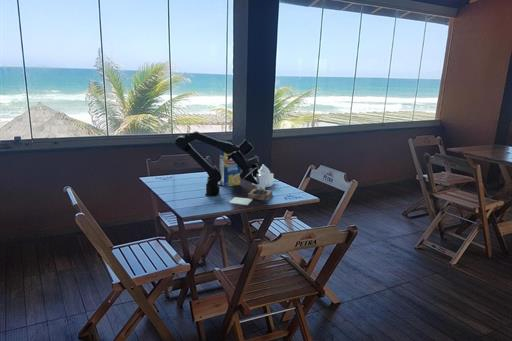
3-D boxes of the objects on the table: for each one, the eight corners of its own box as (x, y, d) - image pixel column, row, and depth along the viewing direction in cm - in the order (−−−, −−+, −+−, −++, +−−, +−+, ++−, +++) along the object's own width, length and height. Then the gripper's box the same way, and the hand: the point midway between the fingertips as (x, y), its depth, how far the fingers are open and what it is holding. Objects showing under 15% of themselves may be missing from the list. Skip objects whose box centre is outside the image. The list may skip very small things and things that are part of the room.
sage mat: (228, 203, 193) (228, 202, 193) (234, 197, 202) (234, 197, 202) (247, 205, 191) (247, 204, 191) (252, 199, 200) (252, 199, 200)
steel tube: (254, 197, 204) (255, 175, 201) (257, 195, 209) (257, 173, 206) (263, 198, 203) (264, 176, 200) (265, 196, 207) (266, 174, 204)
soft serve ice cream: (278, 189, 227) (279, 168, 220) (254, 192, 224) (254, 171, 218) (273, 179, 238) (273, 159, 231) (250, 181, 235) (249, 161, 228)
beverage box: (219, 183, 230) (219, 148, 225) (235, 182, 235) (236, 147, 230) (223, 186, 224) (224, 150, 219) (240, 184, 229) (241, 149, 224)
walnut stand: (247, 198, 202) (247, 194, 201) (253, 193, 212) (253, 188, 212) (267, 200, 199) (267, 196, 198) (272, 195, 209) (272, 190, 209)
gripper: (245, 154, 193) (266, 176, 192) (255, 148, 210) (273, 169, 210) (231, 168, 196) (251, 190, 196) (241, 161, 214) (259, 181, 214)
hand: (259, 182), depth 204 cm, fingers open, 9 cm apart
